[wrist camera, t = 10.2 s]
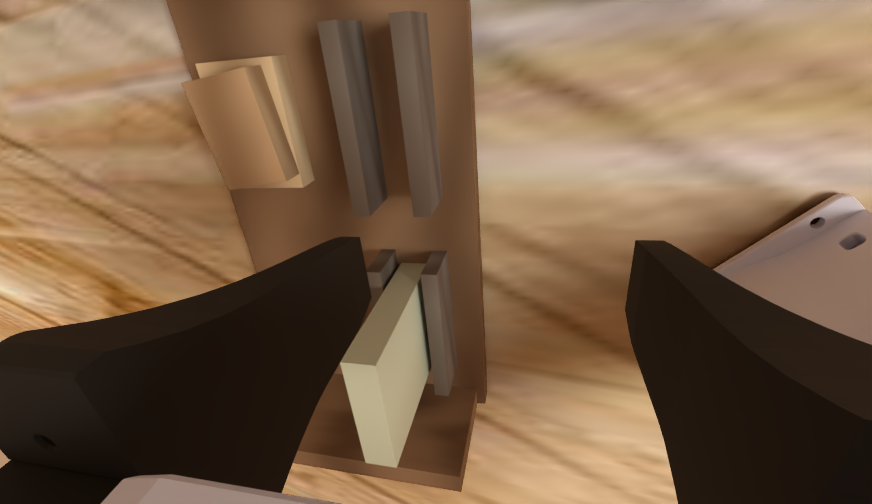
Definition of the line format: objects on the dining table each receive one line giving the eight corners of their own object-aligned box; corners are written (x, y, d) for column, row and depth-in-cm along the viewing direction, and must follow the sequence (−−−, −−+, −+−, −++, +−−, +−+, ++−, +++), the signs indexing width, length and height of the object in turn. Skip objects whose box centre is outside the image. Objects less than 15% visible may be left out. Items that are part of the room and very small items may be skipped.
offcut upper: (260, 65, 18) (243, 67, 17) (299, 173, 20) (286, 181, 19) (200, 80, 19) (181, 83, 18) (243, 182, 21) (228, 190, 20)
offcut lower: (285, 54, 19) (270, 56, 18) (314, 180, 22) (303, 187, 21) (213, 61, 20) (195, 63, 19) (249, 181, 23) (235, 188, 22)
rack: (465, -113, 16) (414, -203, 10) (487, 391, 27) (470, 493, 21) (164, -57, 19) (-13, -96, 13) (299, 370, 31) (239, 453, 25)
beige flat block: (427, 263, 23) (375, 365, 16) (437, 349, 25) (396, 467, 18) (401, 262, 23) (339, 362, 16) (413, 346, 26) (365, 462, 19)
